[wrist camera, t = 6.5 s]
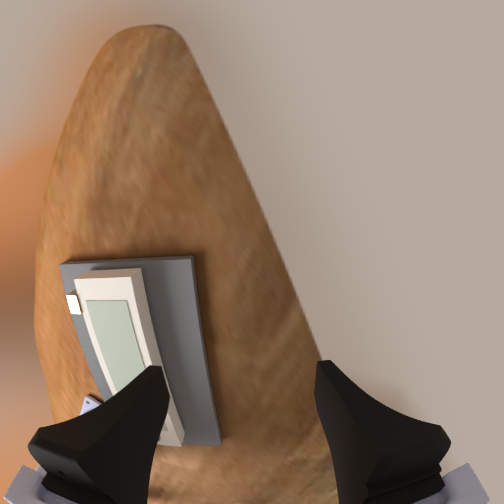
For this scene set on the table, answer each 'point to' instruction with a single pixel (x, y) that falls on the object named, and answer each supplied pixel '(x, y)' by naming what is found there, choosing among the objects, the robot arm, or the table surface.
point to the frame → (124, 333)
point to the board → (162, 336)
